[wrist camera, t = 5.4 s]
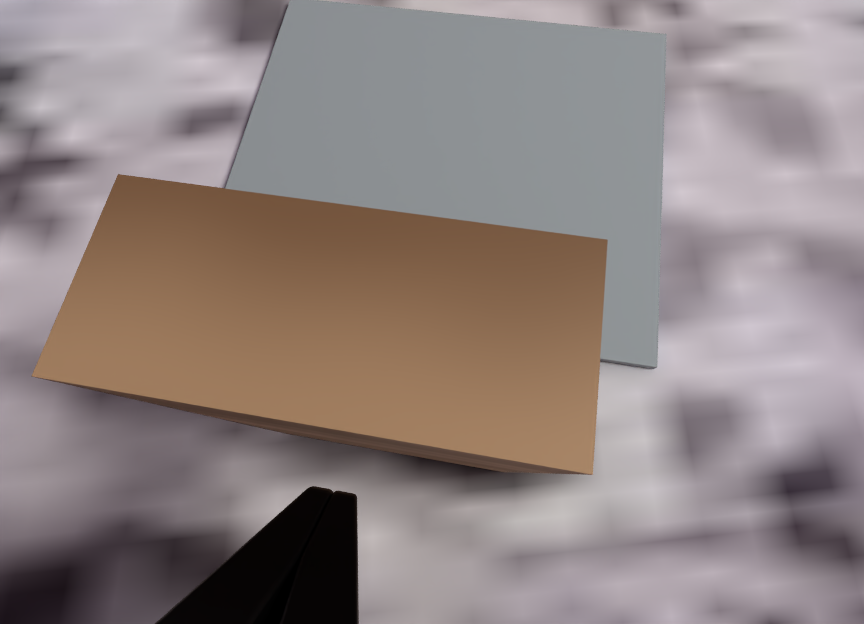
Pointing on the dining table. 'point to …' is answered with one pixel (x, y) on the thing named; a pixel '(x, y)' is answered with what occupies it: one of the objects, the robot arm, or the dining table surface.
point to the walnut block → (341, 324)
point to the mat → (475, 133)
